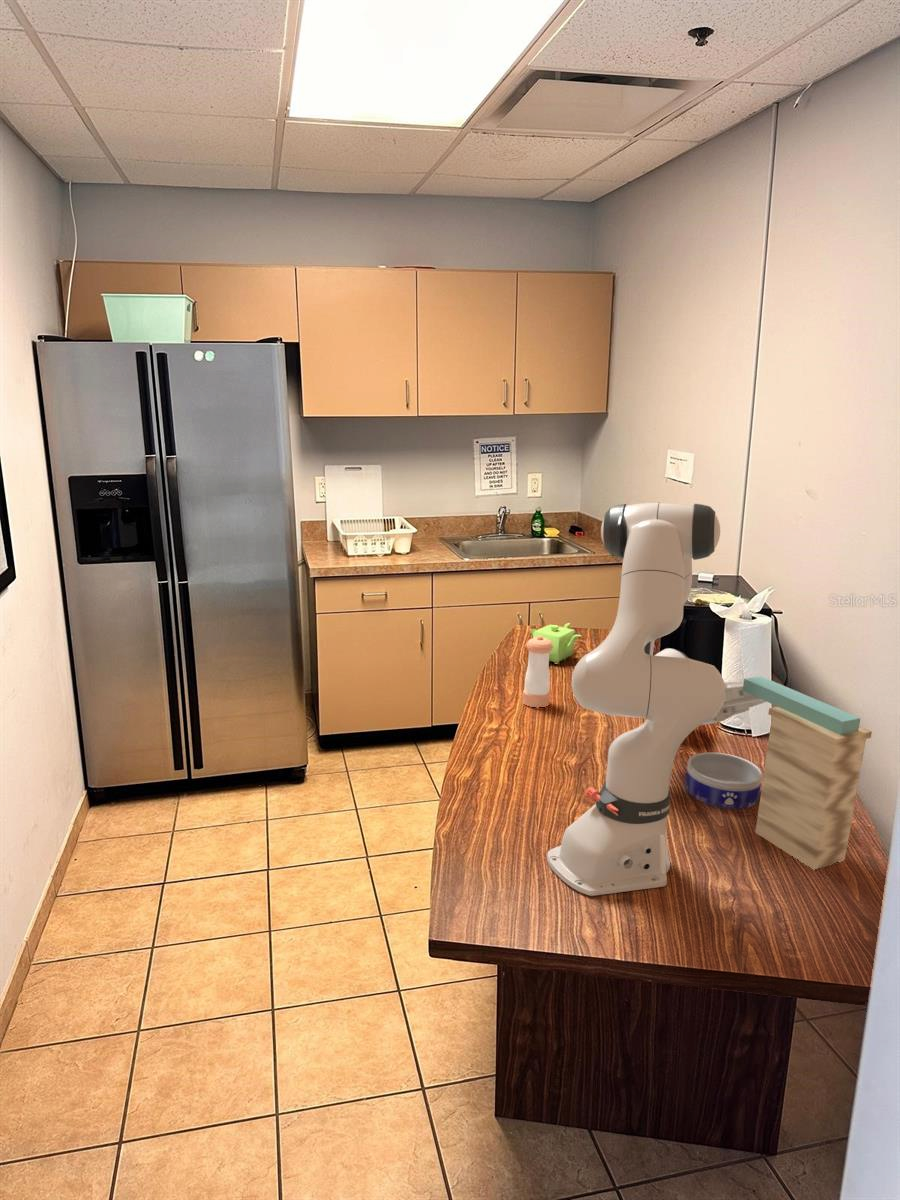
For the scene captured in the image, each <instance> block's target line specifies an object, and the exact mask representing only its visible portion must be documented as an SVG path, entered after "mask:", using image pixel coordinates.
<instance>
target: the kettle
mask: <svg viewBox="0 0 900 1200" xmlns="http://www.w3.org/2000/svg"><path fill="white" fill-rule="evenodd" d="M570 625H571V623H570V622H567V623H565V624H564V626H559V625H557V624H547V625H545V626H543V627H541V628H539V629H535V628H532V629H530V630H529V632H530V633H531V636H532V638H536V637H538V636H542V637H543V638H546V639H548V640H550V641H551V643H552V645H553V648H552V650H551V652H549V662H554V663H559V664H560V662H561V661H564V660H563V659H566V658H567V659H568V658H569V657H571V656H572V655H574V647H575V643H576V640H577V639H578V638H580V637H582V636H583V635H581V634H575V633H576V630H575V629H572V628H569V627H570Z"/></svg>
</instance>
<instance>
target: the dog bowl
mask: <svg viewBox="0 0 900 1200" xmlns="http://www.w3.org/2000/svg"><path fill="white" fill-rule="evenodd" d="M686 767H687V768H686V776H685V777H686V778H685V788H686V791H687V793H688V794H689V795H690V796H692V797H693V798H694V799H695V800H698V801H699V802H701V803H704V804H706V805H708V804H709V806H712V807H715V806H716V808H719V807H720V809H724V808H726V809H727V810H744V809H748V808H751V807H753V806H755V805H756V804H757V803H758V801H759V797H760V795H761V789H762V782H763V772H762V771H761V769H760V767H758V766H757V765H756V764H754V763H753V762H751V761H749V760H747V759H745V758H743V757H741V756H736V755H733V754H729V753H721V752H712V751H711V752H710V751H709V752H700V753H696V754H693V755H691V757H690V756H689V758H688V760H687V766H686ZM726 809H725V810H726Z"/></svg>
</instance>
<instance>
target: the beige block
mask: <svg viewBox="0 0 900 1200" xmlns="http://www.w3.org/2000/svg"><path fill="white" fill-rule="evenodd" d="M768 715H769V716H771V721H770V728H769V735H768V743H767V749H766V756H765V762H764V763H765V764H764V771H763V775H762V782H761V789H760V796H759V797H760V799H759V806H758V812H757V819H756V824H755V832H754V833H755V834H756V835H758V836H760V837H762V839H765V840H766V841H767V842H769V843H770V844H773V846H775V847H777V848H778V849H780V850H781V849H782V851H783V852H785V853H786V854H788V855H789V856H791V857H792V856H793V857H792V858H794V859H795V858H796V860H797V859H798V860H799V861H798V860H797V861H798V862H800V863H802V864H803V863H804V864H803V865H805V866H806V865H807V866H806V867H808V866H809V867H811V868H812V869H814V870H813V871H816V870H815V869H817V870H819V869H818V868H820V869H822V868H821V867H823V868H825V867H824V866H827V865H830V864H833V863H835V862H839V861H841V860H845V861H846V855H847V850H848V849H847V848H848V843H849V839H850V838H849V837H850V833H851V826H852V819H853V816H854V815H853V814H854V810H855V804H856V798H857V792H858V786H859V782H860V781H859V779H860V775H861V770H862V764H863V758H864V753H865V748H866V741H867V739H871V738H872V733H873V732H872V731H871V730H869V729H866V728H864V727H862V726H860V725H859V730H858V732H853V733H848V734H844V735H839V734H837V733H835V732H833V731H830V730H828V729H826V728H824V727H822V726H819V725H817V724H815V723H813V722H811V721H808V720H806V719H804V718H802V717H800V716H797V715H795V714H793V713H791V712H788V711H786V710H784V709H782V708H780V707H777V706H774V707H769V708H768ZM833 865H834V864H833ZM830 866H831V865H830ZM809 867H808V868H809ZM827 867H828V866H827ZM811 868H810V869H811ZM812 869H811V870H812Z"/></svg>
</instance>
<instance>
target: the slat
mask: <svg viewBox="0 0 900 1200" xmlns="http://www.w3.org/2000/svg"><path fill="white" fill-rule="evenodd" d="M743 683H744V684H743V691H744V692H747V693H749V694H751V695H753V696H755V697H758V698H760V699H762V700H764V701H766V702H767V703H769V704H771V705H773V706H774V707H780V708H782V709H784V710H786V711H788V712H791V713H793V714H795V715H797V716H800V717H802V718H804V719H806V720H808V721H811V722H813V723H815V724H817V725H819V726H822V727H824V728H826V729H828V730H830V731H833V732H835V733H837V734H839V735H844V734H848V733H853V732H858V730H859V726H860V724H861V717H859V716H856V715H854V714H851V713H849V712H847V711H844V710H842V709H839V708H838V707H835V706H832V705H830V704H828V703H825V702H823V701H820V700H819V699H816V698H813V697H811V696H809V695H807V694H804V693H802V692H800V691H797V690H795V689H792V688H790V687H788V686H785V685H783V684H781V683H778V682H776V681H773V680H771V679H769V678H767V677H764V676H761V675H759V676H753V677H746V678H743ZM766 702H765V703H766Z"/></svg>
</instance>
